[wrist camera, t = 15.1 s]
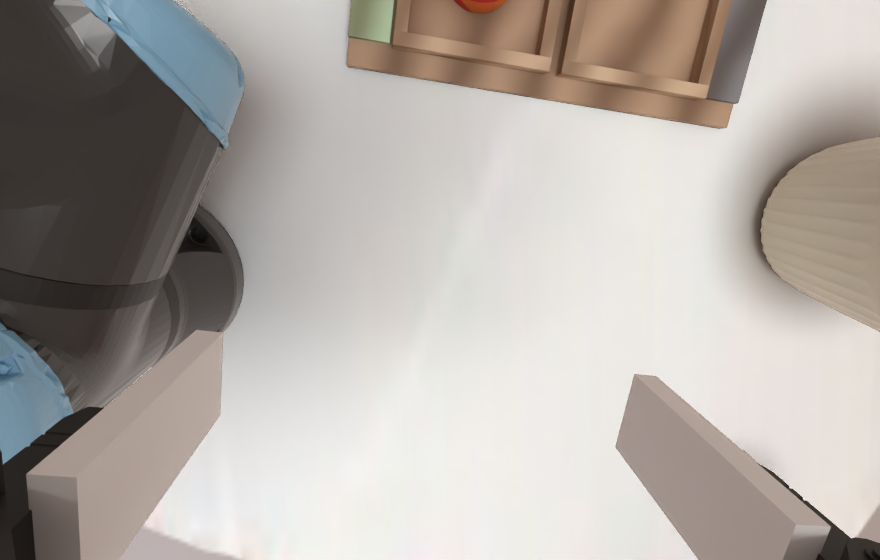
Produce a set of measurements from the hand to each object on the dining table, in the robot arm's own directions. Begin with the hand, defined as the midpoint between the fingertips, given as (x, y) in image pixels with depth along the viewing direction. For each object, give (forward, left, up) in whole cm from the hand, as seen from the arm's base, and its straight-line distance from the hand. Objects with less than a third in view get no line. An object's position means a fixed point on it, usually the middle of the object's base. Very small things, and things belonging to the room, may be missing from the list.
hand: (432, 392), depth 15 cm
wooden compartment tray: (+10, +21, -29) cm, 37 cm away
